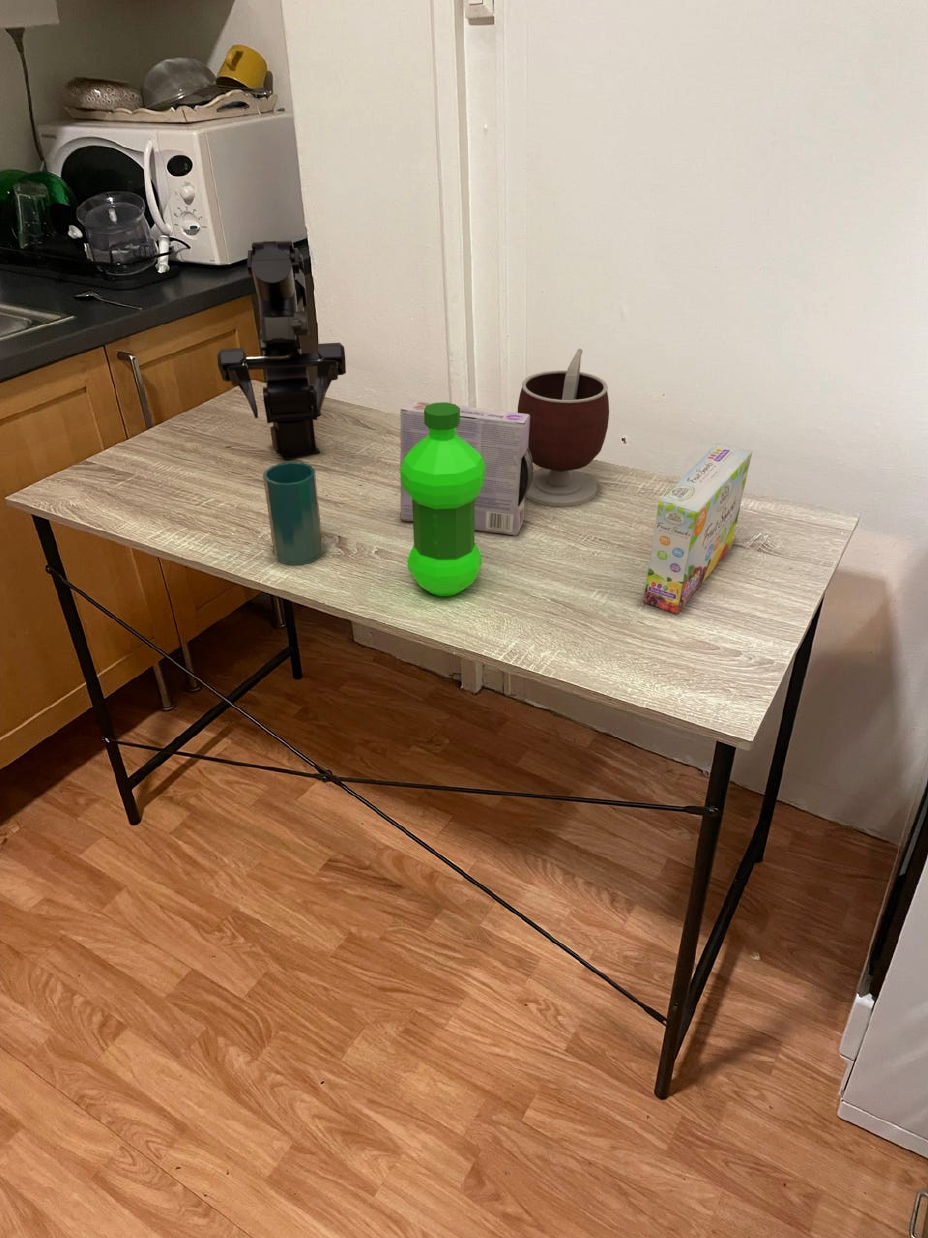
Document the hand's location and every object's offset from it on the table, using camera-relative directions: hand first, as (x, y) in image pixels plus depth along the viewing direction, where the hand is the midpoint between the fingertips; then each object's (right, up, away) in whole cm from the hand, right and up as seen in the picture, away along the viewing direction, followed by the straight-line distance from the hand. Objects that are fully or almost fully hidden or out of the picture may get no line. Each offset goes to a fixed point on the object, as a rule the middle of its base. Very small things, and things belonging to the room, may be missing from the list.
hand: (287, 415), depth 137 cm
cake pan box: (+27, -16, +1) cm, 31 cm away
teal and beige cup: (+3, -21, -7) cm, 22 cm away
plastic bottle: (+24, -26, -14) cm, 38 cm away
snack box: (+57, -24, -11) cm, 64 cm away
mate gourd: (+42, -9, +10) cm, 44 cm away
